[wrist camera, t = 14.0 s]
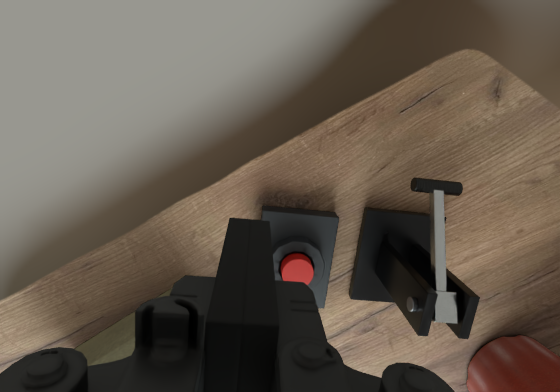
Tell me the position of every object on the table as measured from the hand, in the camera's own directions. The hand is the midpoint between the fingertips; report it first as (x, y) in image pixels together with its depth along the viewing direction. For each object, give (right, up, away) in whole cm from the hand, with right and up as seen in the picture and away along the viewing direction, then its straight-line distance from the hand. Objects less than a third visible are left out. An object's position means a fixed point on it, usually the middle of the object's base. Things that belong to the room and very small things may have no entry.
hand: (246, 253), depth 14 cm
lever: (+17, -3, +24) cm, 30 cm away
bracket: (+16, -5, +33) cm, 37 cm away
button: (+3, -6, +29) cm, 30 cm away
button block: (+3, -5, +32) cm, 33 cm away
